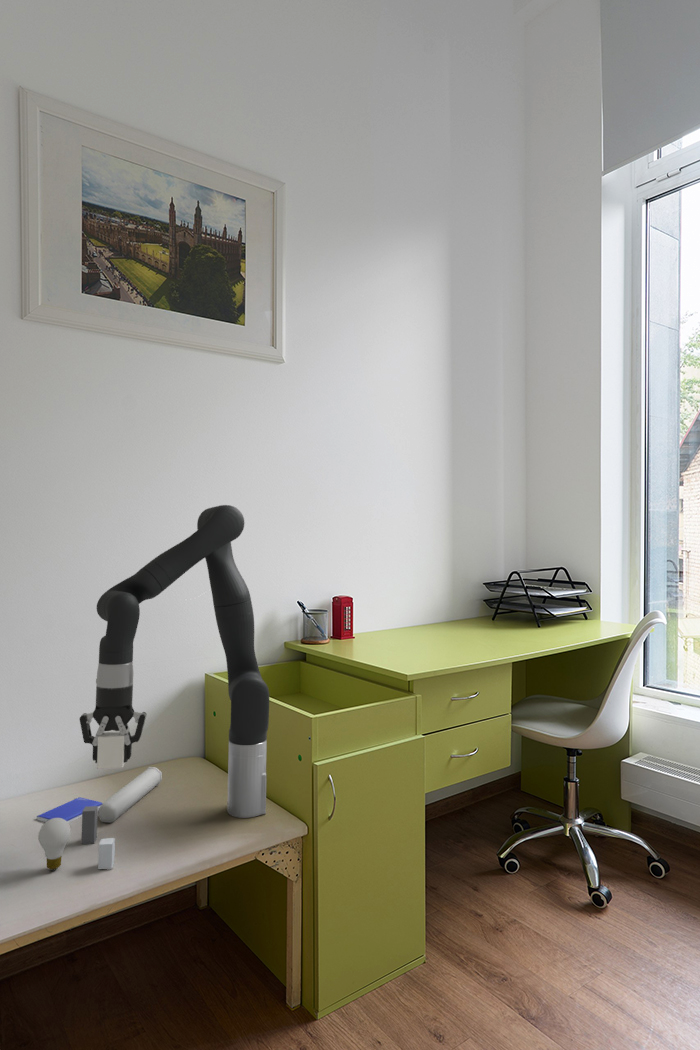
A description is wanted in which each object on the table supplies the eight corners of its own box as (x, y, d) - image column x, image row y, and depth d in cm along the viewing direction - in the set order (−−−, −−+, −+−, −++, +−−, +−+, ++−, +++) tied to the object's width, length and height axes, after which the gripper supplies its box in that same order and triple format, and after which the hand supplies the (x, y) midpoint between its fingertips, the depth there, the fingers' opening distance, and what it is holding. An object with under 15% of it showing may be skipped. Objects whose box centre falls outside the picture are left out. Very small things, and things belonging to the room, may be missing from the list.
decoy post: (114, 862, 132) (114, 838, 133) (111, 869, 130) (112, 843, 130) (100, 863, 132) (101, 838, 132) (98, 870, 129) (98, 844, 130)
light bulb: (75, 869, 130) (76, 818, 130) (45, 880, 125) (46, 828, 125) (61, 859, 133) (63, 810, 134) (32, 870, 129) (33, 819, 129)
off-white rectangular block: (126, 760, 144) (127, 730, 144) (122, 768, 139) (123, 736, 139) (101, 760, 143) (103, 730, 143) (96, 768, 138) (98, 737, 138)
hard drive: (78, 796, 164) (36, 815, 152) (102, 802, 160) (61, 821, 149) (78, 802, 164) (36, 821, 152) (102, 808, 160) (61, 828, 149)
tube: (117, 809, 150) (164, 771, 174) (97, 800, 150) (147, 763, 175) (110, 831, 150) (158, 789, 175) (90, 821, 151) (141, 781, 175)
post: (96, 838, 143) (97, 806, 143) (94, 843, 141) (94, 810, 141) (84, 838, 143) (85, 806, 143) (81, 844, 140) (82, 811, 140)
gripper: (151, 679, 146) (148, 755, 146) (84, 679, 144) (80, 757, 143) (146, 686, 139) (143, 766, 138) (75, 687, 136) (72, 768, 136)
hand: (111, 761), depth 141 cm, fingers closed on off-white rectangular block, 5 cm apart
